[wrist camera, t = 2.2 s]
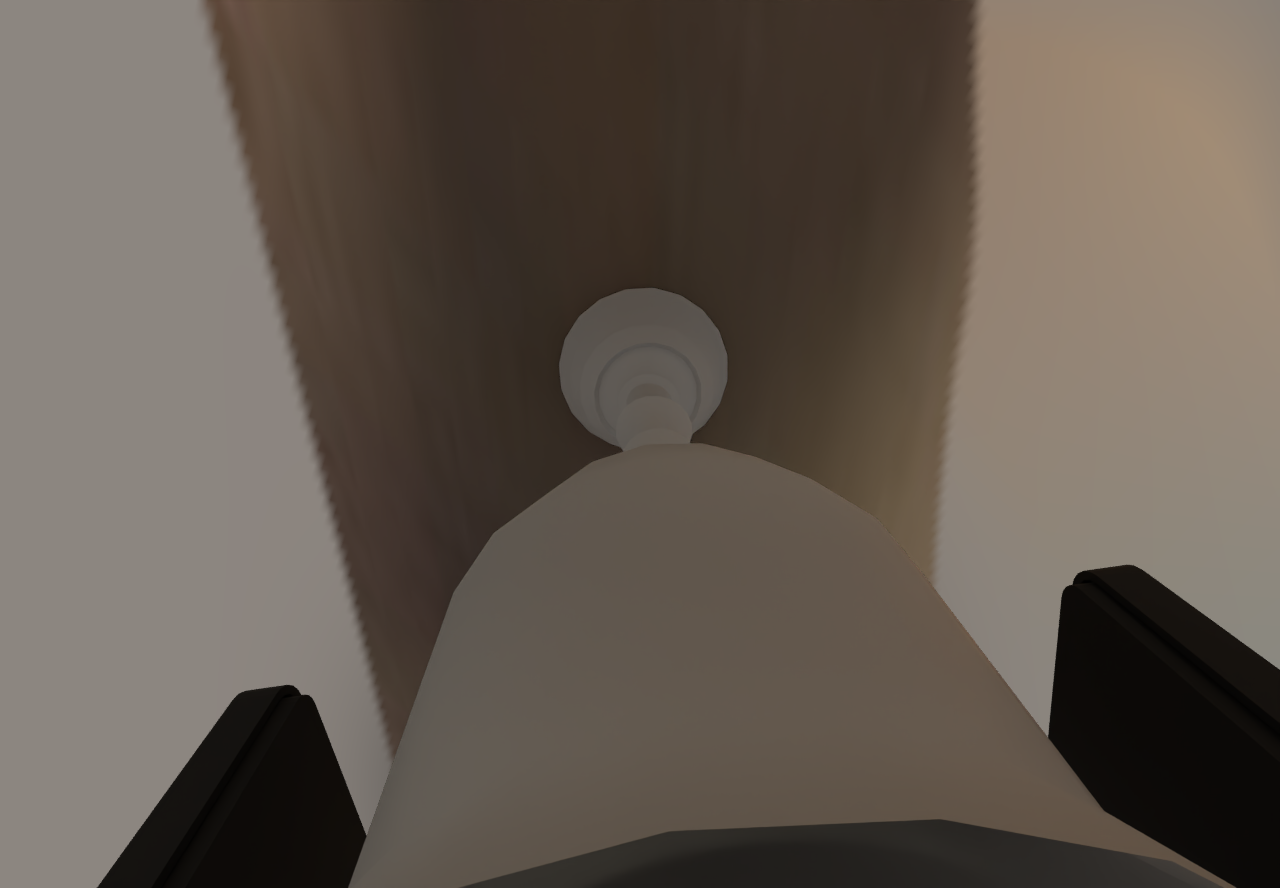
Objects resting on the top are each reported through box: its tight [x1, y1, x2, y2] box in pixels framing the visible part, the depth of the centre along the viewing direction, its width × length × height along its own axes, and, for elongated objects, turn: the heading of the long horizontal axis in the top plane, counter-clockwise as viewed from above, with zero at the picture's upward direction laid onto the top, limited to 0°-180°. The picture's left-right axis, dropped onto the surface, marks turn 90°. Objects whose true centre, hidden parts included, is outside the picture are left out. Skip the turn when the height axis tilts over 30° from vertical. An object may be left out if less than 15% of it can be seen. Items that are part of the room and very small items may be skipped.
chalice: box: [348, 288, 1236, 888], centre depth 12 cm, size 7×7×18 cm
